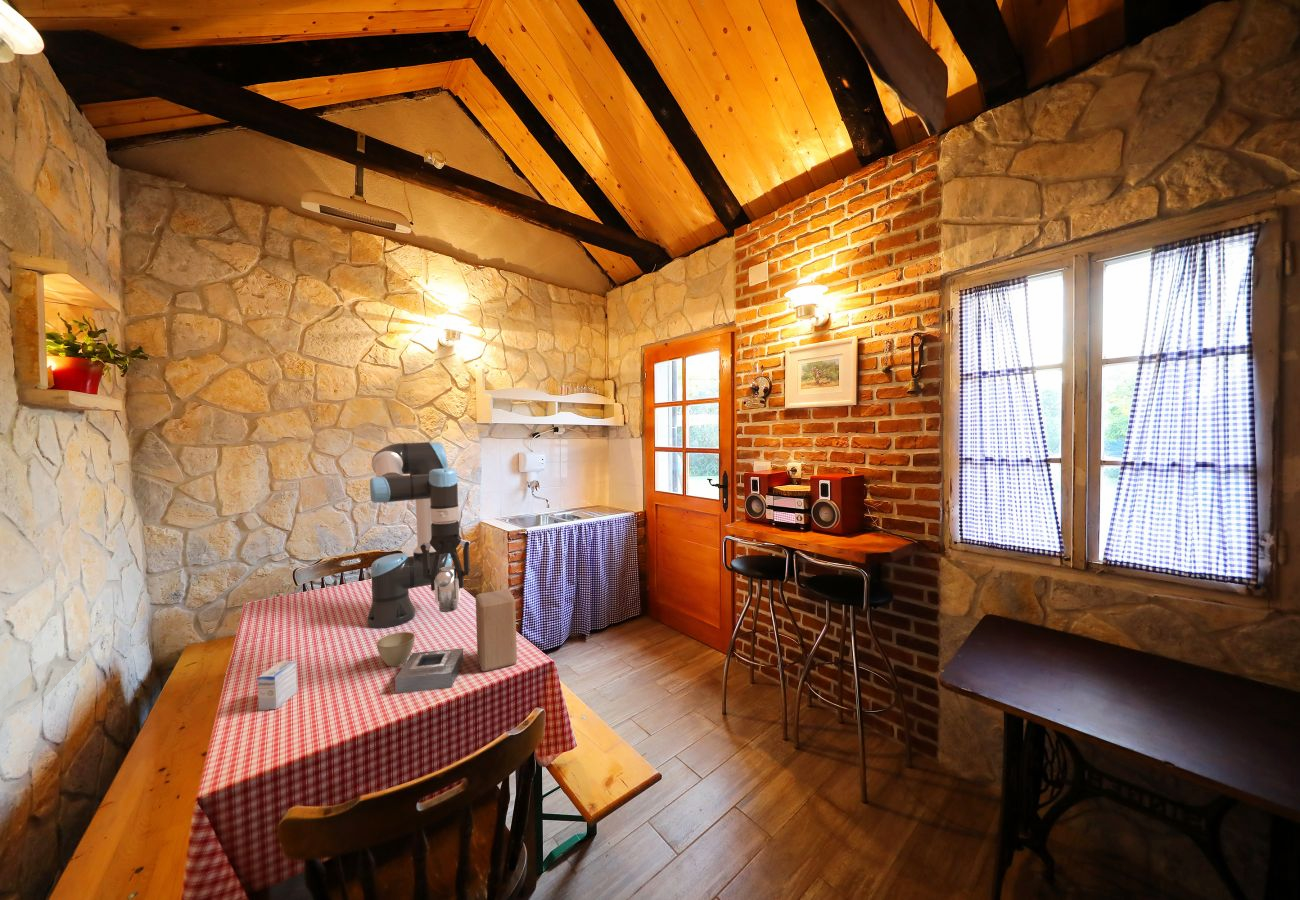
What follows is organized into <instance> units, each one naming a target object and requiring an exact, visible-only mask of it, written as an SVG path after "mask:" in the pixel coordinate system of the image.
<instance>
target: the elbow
mask: <svg viewBox="0 0 1300 900" xmlns="http://www.w3.org/2000/svg"><path fill="white" fill-rule="evenodd" d="M456 577H457V572H456V569H455V566H454V565H452V566H448V567H442V568H439V569H438V575H437V576H436V578H435V583H436V584H437V585H438V592H439V602H438V607H439V608H438V611H439V612H440V613H450V612H454V611H456V610H458V608H459V607H458V601H456V586H455V578H456Z"/></svg>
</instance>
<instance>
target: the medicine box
mask: <svg viewBox="0 0 1300 900" xmlns="http://www.w3.org/2000/svg"><path fill="white" fill-rule="evenodd" d="M297 664H298V663H297V661H296V660H290V661H289V660H286V661H278V662H276V664H275V665H273V666H272V667H269V668H268V669H267V670H266V671H264V672H263V673H261V674H260V675H259V676H258V677H257V679H256V680H257V697H258V700H257V701H258V702H257V703H258V710H259V711H270V710H269V709H275V710H278V709H279V708H280V707H282V705H284V704H285V703H286V702H287V701H289V699H291V698H292V696H294V695H295V694H296V693H298V691H299V686H298V665H297ZM277 708H278V709H277Z"/></svg>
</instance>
